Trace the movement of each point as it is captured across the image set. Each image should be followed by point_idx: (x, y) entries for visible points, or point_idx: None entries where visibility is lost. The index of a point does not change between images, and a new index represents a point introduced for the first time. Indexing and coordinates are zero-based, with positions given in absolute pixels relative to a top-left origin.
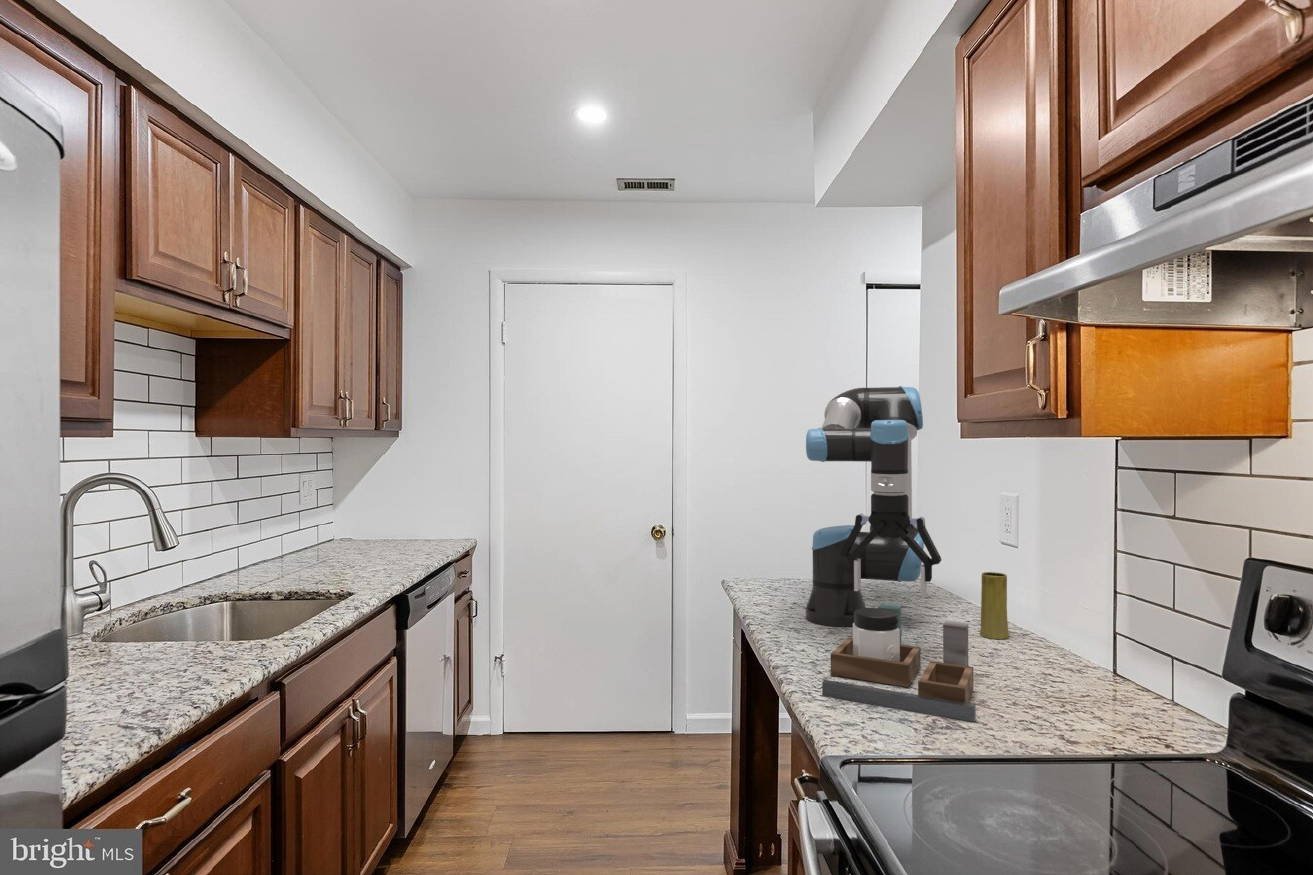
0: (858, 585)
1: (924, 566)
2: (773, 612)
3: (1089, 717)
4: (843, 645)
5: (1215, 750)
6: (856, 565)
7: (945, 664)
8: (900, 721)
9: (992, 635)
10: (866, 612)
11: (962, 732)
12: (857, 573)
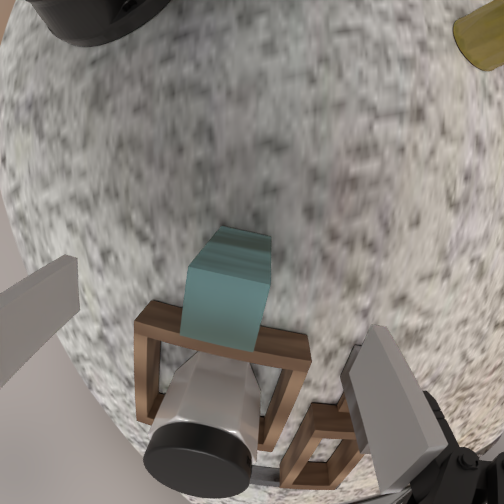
0: (66, 307)
1: (405, 485)
2: (15, 19)
3: (457, 427)
4: (141, 378)
5: (494, 439)
6: (6, 376)
7: (337, 437)
8: (256, 487)
9: (479, 64)
10: (173, 476)
11: (314, 491)
12: (33, 352)
